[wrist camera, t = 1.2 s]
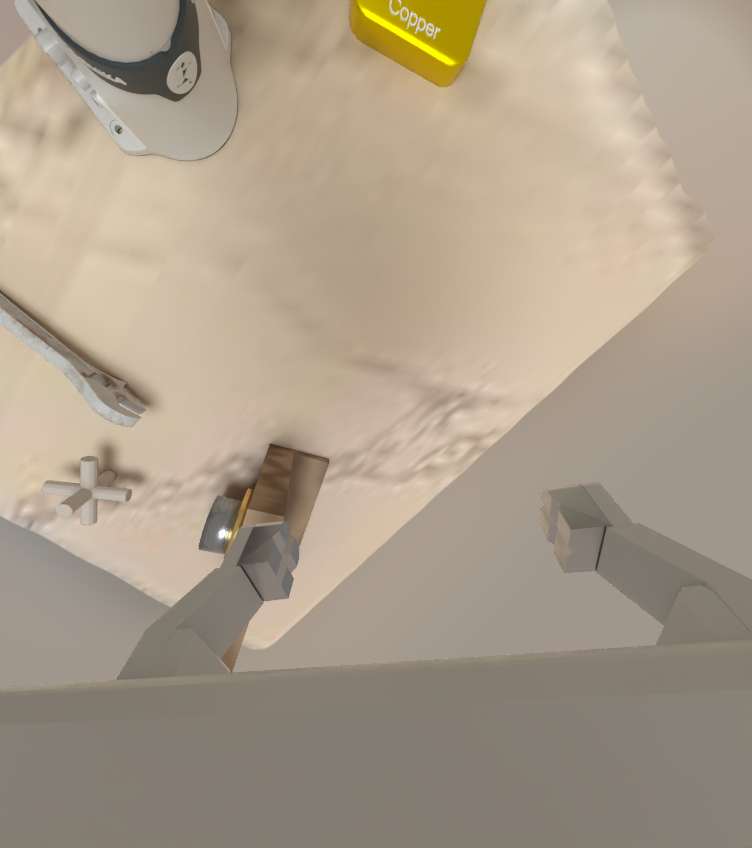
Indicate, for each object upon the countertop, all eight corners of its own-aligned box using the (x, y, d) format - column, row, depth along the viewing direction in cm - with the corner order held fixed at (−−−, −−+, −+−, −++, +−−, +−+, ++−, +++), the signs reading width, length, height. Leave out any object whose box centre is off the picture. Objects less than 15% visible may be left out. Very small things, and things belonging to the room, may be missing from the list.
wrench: (-34, 251, 43) (162, 410, 50) (-42, 261, 43) (154, 419, 50) (-118, 229, 35) (128, 422, 42) (-127, 242, 35) (119, 432, 42)
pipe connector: (71, 440, 49) (14, 469, 40) (146, 450, 51) (109, 480, 42) (72, 500, 52) (18, 540, 42) (144, 507, 54) (108, 546, 44)
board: (233, 563, 60) (196, 674, 41) (270, 443, 54) (247, 508, 36) (288, 572, 62) (277, 681, 44) (328, 459, 57) (335, 527, 38)
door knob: (211, 531, 57) (185, 583, 45) (228, 469, 54) (206, 509, 43) (241, 537, 58) (224, 589, 47) (259, 477, 55) (246, 517, 44)
